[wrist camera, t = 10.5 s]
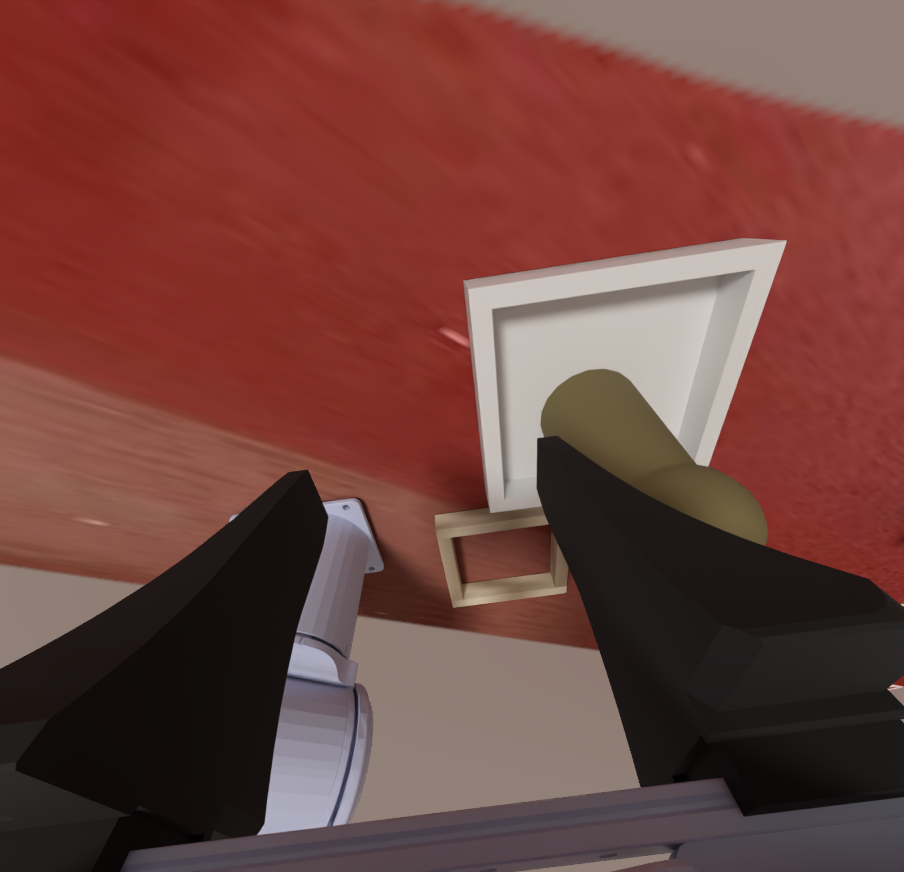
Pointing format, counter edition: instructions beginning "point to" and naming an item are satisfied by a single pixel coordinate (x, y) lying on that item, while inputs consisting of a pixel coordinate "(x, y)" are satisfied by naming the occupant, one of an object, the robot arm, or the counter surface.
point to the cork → (646, 452)
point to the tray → (613, 345)
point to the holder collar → (499, 588)
